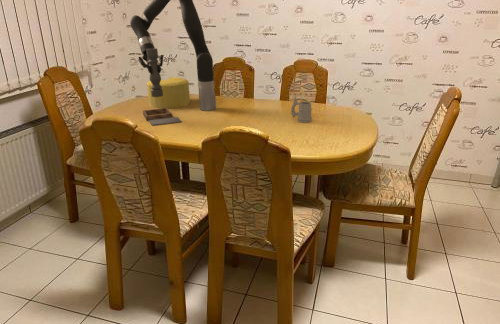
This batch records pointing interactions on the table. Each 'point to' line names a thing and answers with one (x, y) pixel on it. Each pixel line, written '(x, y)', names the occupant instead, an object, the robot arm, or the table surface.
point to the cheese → (170, 93)
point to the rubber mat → (164, 121)
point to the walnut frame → (156, 111)
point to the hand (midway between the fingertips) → (155, 72)
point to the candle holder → (154, 73)
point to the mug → (302, 111)
